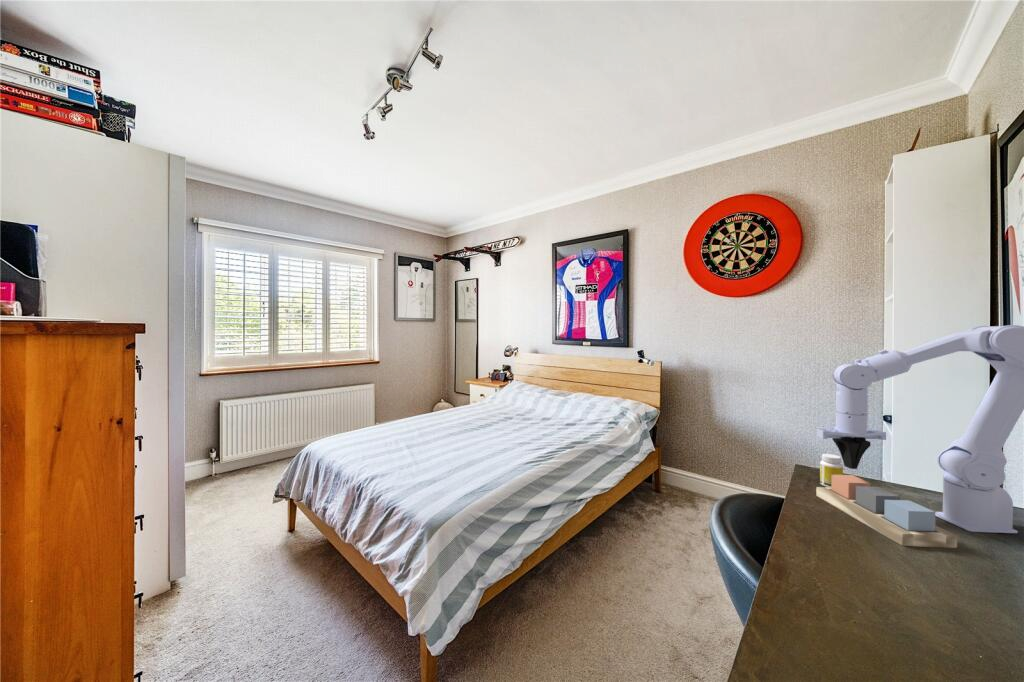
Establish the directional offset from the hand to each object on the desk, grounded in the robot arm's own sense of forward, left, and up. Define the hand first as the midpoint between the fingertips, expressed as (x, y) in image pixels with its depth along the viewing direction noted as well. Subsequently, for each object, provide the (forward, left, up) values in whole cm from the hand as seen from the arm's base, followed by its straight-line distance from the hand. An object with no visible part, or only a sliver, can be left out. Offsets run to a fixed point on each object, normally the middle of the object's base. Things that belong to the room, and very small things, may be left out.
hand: (850, 467), depth 89 cm
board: (0, +7, -9) cm, 11 cm away
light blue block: (0, +14, -7) cm, 16 cm away
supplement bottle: (-4, -11, -9) cm, 15 cm away
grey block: (0, +7, -7) cm, 10 cm away
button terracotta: (0, 0, -7) cm, 7 cm away
